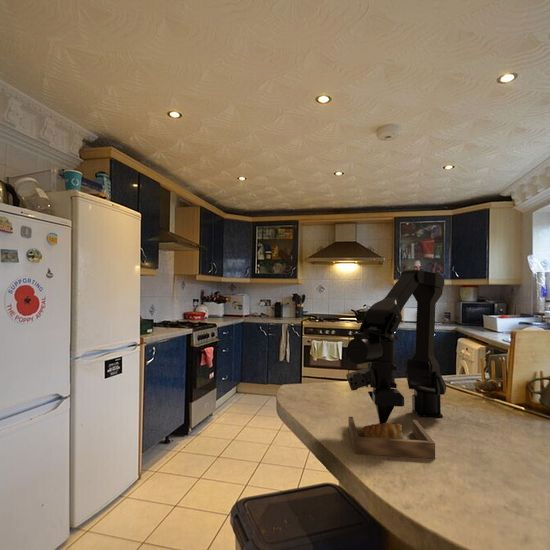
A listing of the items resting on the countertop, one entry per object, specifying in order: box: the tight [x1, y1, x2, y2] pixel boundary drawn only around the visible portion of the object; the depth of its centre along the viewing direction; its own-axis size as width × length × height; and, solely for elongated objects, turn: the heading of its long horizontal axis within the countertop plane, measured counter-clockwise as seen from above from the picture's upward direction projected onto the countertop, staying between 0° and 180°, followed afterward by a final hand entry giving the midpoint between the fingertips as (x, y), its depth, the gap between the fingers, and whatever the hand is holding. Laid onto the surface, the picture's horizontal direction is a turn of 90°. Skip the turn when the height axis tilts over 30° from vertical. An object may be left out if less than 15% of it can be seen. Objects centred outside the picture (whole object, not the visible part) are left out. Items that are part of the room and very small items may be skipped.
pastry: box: [360, 422, 404, 439], centre depth 82 cm, size 9×7×4 cm
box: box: [348, 416, 436, 459], centre depth 79 cm, size 16×14×3 cm
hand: (382, 425), depth 85 cm, fingers closed
